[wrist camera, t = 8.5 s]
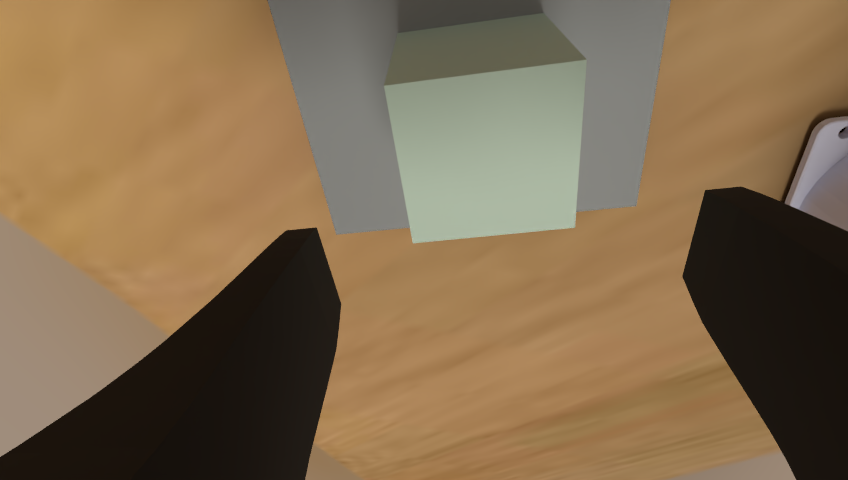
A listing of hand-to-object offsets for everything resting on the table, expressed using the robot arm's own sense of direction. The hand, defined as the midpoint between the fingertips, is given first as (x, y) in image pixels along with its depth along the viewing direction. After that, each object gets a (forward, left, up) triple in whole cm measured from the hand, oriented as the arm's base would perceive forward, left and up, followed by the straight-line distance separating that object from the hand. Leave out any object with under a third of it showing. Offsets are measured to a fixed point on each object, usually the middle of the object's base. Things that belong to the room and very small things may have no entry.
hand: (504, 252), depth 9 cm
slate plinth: (0, 0, -10) cm, 10 cm away
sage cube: (0, 0, -8) cm, 8 cm away
